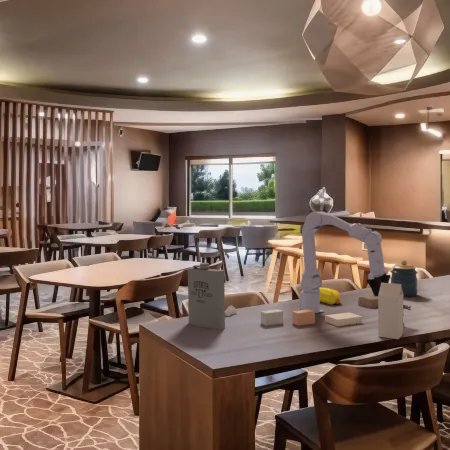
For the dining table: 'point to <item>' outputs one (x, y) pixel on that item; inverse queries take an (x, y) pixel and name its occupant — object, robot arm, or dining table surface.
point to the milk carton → (390, 311)
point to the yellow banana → (329, 296)
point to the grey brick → (271, 317)
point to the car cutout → (230, 311)
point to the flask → (206, 297)
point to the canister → (405, 278)
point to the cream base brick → (343, 319)
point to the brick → (368, 301)
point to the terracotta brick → (303, 317)
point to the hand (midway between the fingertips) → (381, 294)
